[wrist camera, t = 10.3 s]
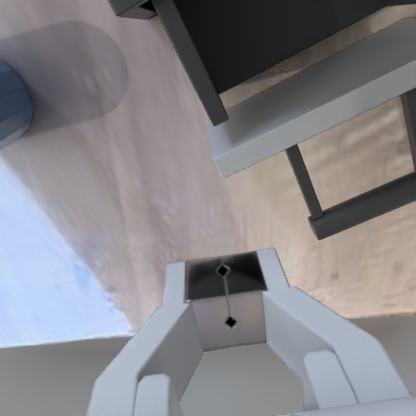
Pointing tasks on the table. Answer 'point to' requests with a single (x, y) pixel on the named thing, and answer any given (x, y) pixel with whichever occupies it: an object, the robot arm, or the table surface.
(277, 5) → the grey drawer
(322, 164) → the table surface
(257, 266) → the robot arm
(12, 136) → the blue cup
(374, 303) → the table surface
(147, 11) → the dark grey box
